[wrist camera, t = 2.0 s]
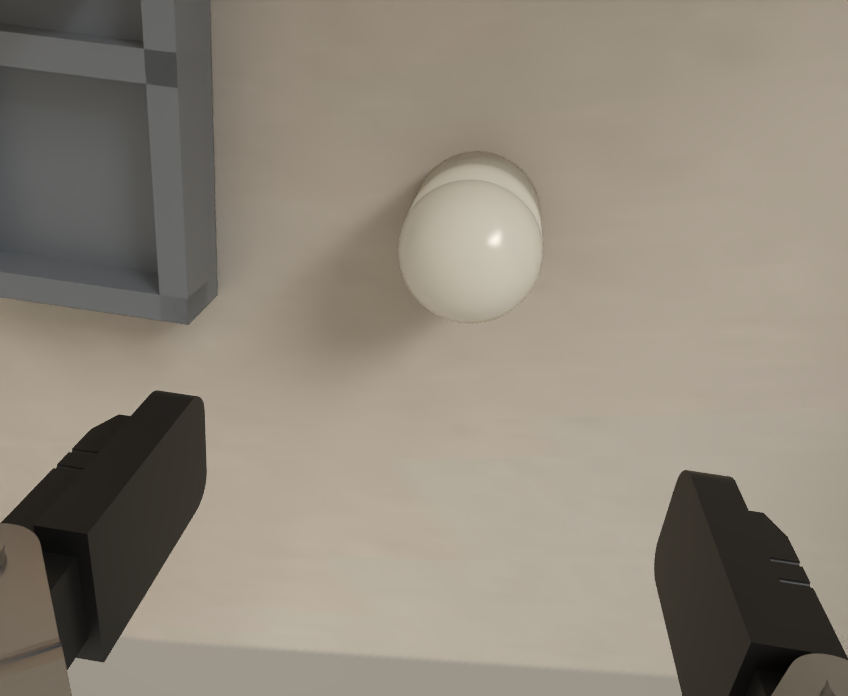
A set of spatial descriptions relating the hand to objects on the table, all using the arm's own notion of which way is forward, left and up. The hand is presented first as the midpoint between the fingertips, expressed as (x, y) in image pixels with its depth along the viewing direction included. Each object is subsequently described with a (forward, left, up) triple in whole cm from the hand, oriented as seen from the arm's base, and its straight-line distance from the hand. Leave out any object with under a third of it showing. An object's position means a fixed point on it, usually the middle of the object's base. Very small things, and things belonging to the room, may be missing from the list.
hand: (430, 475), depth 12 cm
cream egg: (0, 0, -15) cm, 15 cm away
